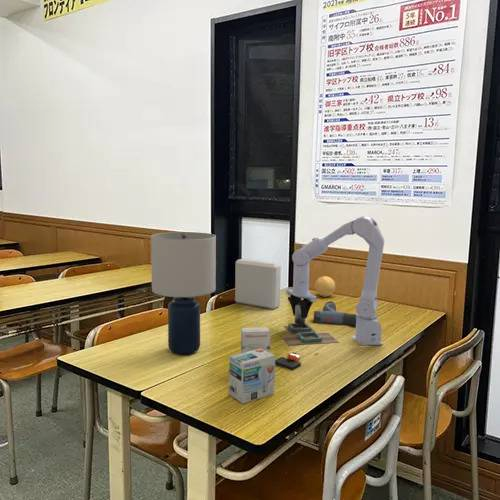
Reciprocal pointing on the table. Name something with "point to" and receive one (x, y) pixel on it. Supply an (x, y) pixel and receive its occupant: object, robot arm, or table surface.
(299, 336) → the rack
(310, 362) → the table surface
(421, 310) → the table surface
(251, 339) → the ink box
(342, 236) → the robot arm
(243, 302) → the bevelled white case
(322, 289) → the stress ball
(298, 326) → the socket block
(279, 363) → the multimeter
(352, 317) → the power drill
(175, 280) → the lamp
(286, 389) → the table surface
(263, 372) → the light bulb box
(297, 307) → the peg
